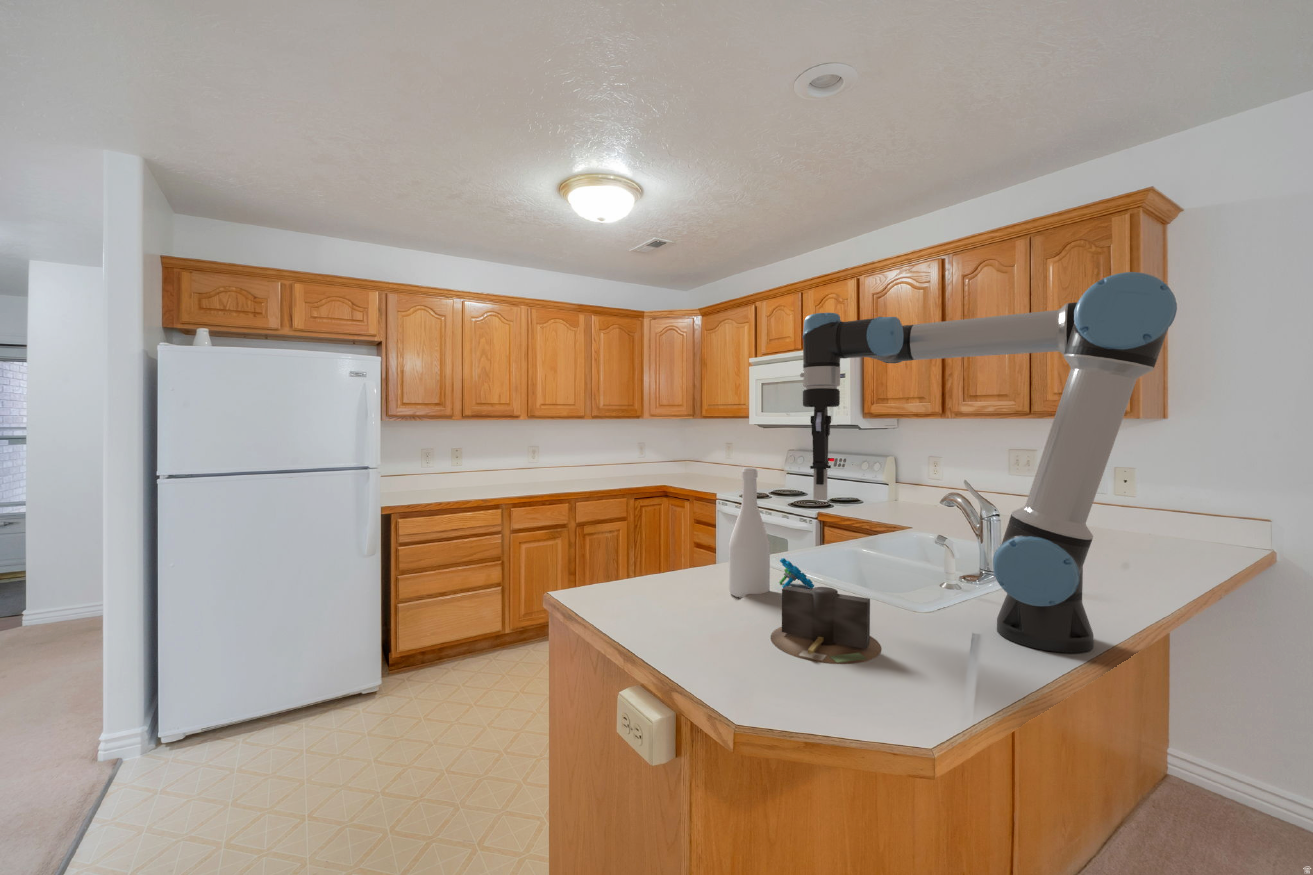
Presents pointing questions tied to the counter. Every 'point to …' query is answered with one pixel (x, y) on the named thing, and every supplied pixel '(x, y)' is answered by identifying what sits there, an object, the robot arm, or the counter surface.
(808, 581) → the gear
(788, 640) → the dial
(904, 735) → the counter surface
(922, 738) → the counter surface
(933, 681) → the counter surface
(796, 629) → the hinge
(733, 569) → the wine bottle
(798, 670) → the counter surface
